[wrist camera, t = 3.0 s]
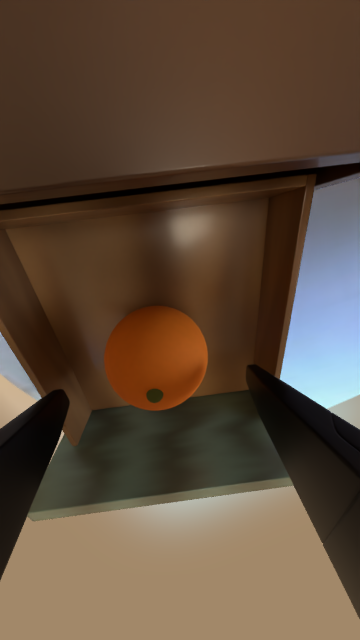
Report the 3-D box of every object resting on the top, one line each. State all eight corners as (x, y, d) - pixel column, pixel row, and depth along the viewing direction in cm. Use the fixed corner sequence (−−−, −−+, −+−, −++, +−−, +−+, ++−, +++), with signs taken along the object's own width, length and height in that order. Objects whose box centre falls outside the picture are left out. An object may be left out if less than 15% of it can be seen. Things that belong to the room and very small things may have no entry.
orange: (196, 287, 12) (220, 334, 7) (201, 357, 15) (221, 433, 9) (108, 298, 12) (59, 354, 7) (129, 367, 15) (106, 448, 9)
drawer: (289, 189, 11) (488, 121, 4) (261, 400, 19) (313, 494, 12) (-15, 225, 11) (-325, 214, 4) (88, 423, 19) (43, 531, 12)
